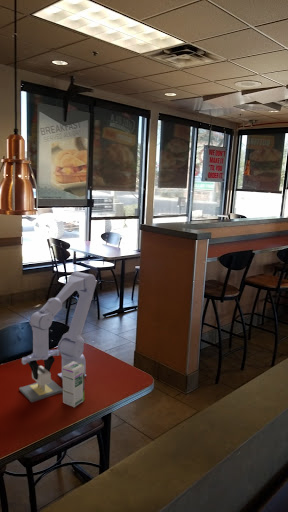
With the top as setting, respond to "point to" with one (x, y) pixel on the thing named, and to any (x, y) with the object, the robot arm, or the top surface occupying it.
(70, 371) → the syrup box
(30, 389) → the board
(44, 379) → the block
